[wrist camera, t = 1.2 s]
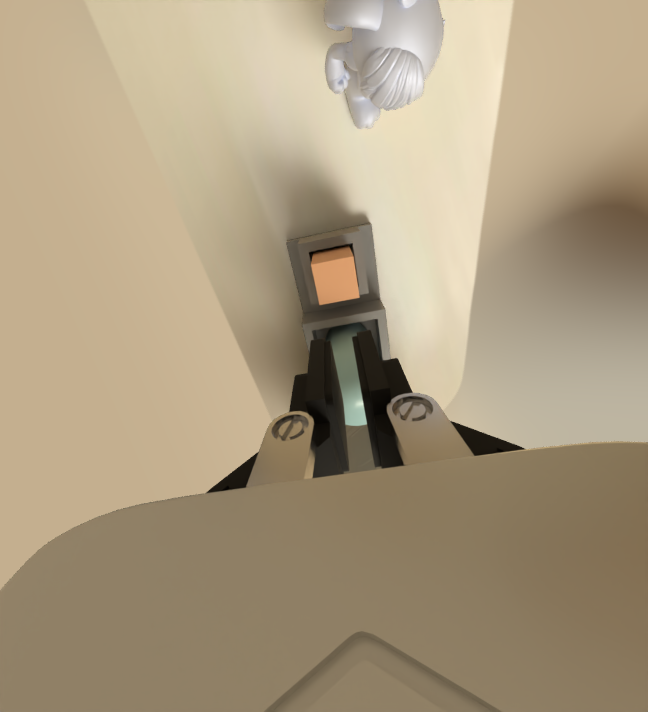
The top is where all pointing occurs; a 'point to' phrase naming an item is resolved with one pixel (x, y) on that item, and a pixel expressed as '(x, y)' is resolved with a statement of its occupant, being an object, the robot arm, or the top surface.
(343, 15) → the toy figurine
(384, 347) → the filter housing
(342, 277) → the plunger
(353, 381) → the cartridge
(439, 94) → the top surface
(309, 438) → the robot arm
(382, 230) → the top surface
